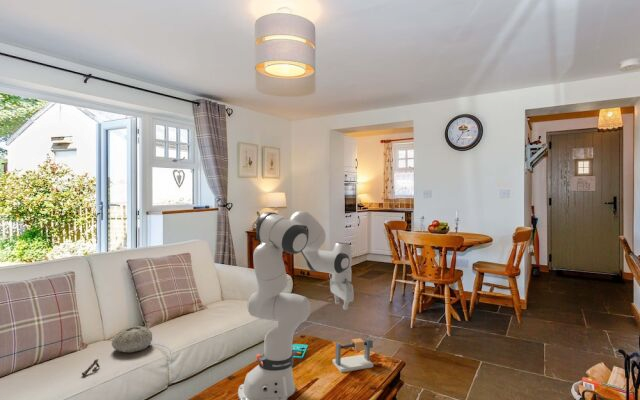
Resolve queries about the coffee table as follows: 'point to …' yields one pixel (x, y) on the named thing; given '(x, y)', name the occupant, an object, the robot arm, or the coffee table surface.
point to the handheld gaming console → (299, 349)
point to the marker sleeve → (358, 344)
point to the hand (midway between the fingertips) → (341, 306)
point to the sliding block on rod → (353, 358)
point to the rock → (132, 339)
